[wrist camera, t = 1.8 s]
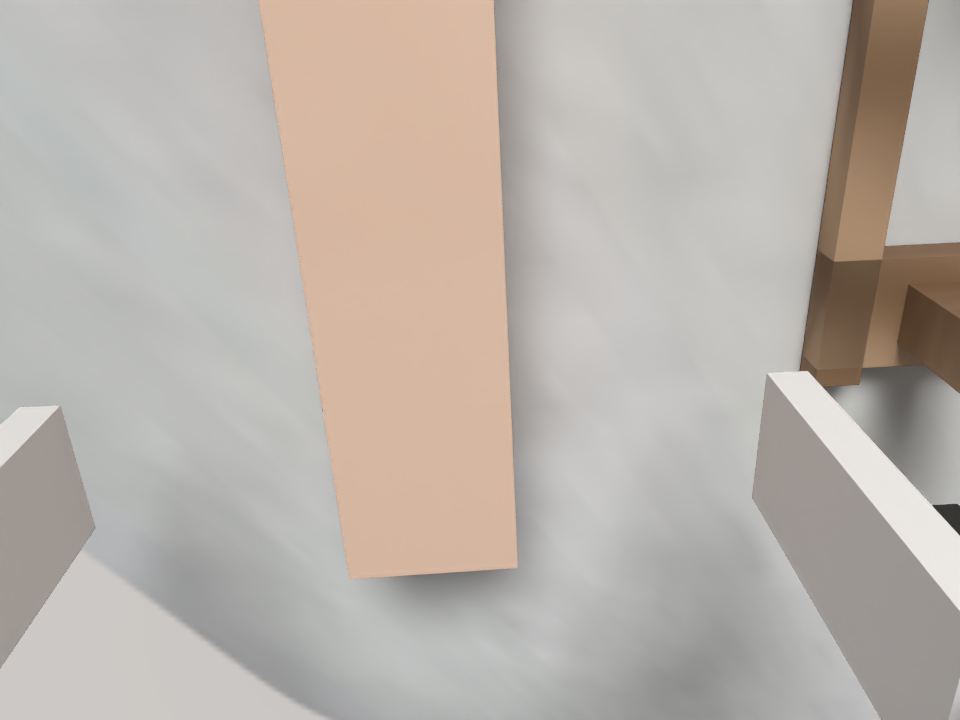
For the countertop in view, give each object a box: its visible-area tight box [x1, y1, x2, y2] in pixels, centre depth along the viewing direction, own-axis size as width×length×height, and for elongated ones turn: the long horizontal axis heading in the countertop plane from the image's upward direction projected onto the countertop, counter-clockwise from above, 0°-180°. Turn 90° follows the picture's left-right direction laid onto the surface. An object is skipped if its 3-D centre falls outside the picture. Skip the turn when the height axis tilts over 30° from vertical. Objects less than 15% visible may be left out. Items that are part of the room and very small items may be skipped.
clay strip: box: [259, 0, 518, 579], centre depth 18 cm, size 18×4×5 cm, turn 3°
